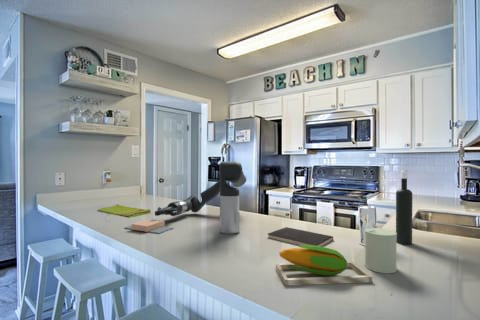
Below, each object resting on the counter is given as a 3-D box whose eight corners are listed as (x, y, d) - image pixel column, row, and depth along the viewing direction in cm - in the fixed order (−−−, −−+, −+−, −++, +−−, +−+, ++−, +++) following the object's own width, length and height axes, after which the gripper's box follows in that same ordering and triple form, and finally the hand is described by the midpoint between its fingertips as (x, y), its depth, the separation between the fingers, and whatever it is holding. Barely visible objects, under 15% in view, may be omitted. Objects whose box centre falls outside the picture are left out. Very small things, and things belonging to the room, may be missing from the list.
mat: (173, 228, 132) (173, 227, 132) (159, 233, 123) (159, 232, 123) (140, 224, 141) (140, 223, 141) (124, 228, 132) (124, 227, 132)
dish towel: (130, 218, 157) (130, 212, 157) (96, 211, 176) (96, 206, 176) (151, 214, 170) (151, 208, 170) (118, 208, 189) (118, 203, 189)
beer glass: (365, 247, 105) (366, 209, 105) (353, 242, 112) (354, 206, 112) (380, 245, 107) (380, 208, 107) (367, 240, 113) (367, 205, 113)
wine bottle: (393, 242, 111) (393, 170, 111) (398, 239, 115) (399, 169, 114) (409, 246, 106) (409, 170, 106) (414, 243, 110) (414, 170, 110)
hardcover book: (316, 251, 102) (316, 245, 102) (267, 238, 118) (267, 233, 118) (333, 241, 114) (333, 236, 114) (286, 231, 130) (286, 226, 130)
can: (358, 262, 90) (358, 226, 90) (385, 261, 90) (385, 226, 90) (374, 273, 81) (374, 234, 80) (403, 273, 81) (403, 233, 81)
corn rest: (351, 266, 86) (351, 261, 86) (372, 282, 75) (372, 276, 75) (275, 268, 84) (275, 263, 84) (284, 285, 73) (284, 280, 73)
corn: (351, 258, 74) (278, 247, 79) (348, 283, 75) (276, 271, 80) (347, 246, 81) (280, 236, 86) (344, 269, 82) (279, 259, 87)
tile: (164, 220, 135) (147, 226, 124) (164, 226, 135) (147, 231, 124) (149, 218, 139) (131, 223, 128) (149, 224, 139) (131, 229, 128)
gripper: (186, 215, 149) (166, 222, 134) (168, 213, 155) (145, 219, 139) (187, 202, 149) (166, 207, 134) (168, 200, 155) (145, 205, 139)
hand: (155, 213), depth 136 cm, fingers closed
